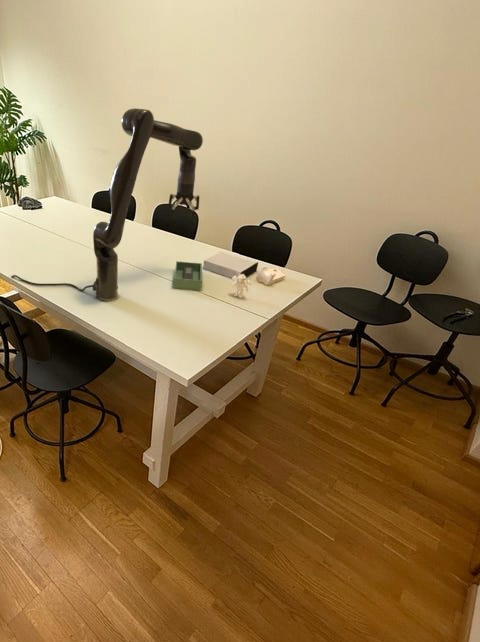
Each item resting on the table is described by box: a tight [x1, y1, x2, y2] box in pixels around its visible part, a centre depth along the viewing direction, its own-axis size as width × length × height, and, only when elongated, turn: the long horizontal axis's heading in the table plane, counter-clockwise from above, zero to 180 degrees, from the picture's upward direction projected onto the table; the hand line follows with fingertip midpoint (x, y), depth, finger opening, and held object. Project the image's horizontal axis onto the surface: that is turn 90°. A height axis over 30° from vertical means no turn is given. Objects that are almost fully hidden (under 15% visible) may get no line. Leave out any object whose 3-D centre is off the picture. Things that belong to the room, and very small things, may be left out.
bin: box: [172, 261, 203, 292], centre depth 184 cm, size 13×21×5 cm, turn 171°
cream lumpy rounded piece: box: [255, 265, 286, 286], centre depth 185 cm, size 13×7×8 cm, turn 124°
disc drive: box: [202, 251, 259, 279], centre depth 195 cm, size 18×22×5 cm
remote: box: [183, 266, 193, 280], centre depth 184 cm, size 5×16×3 cm, turn 171°
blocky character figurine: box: [231, 272, 252, 299], centre depth 169 cm, size 9×4×12 cm, turn 52°
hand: (182, 217), depth 177 cm, fingers open, 8 cm apart
